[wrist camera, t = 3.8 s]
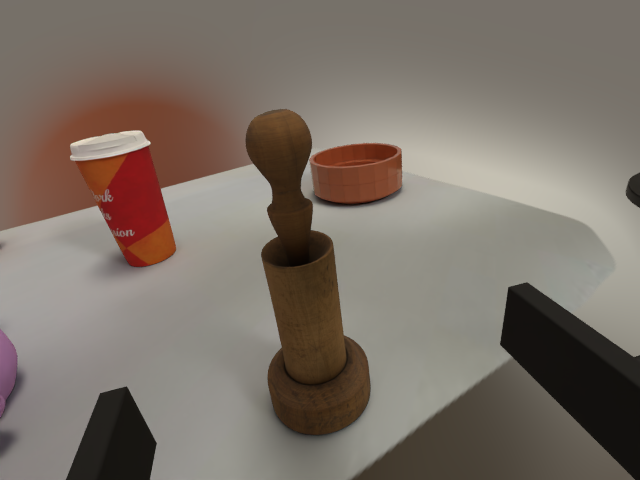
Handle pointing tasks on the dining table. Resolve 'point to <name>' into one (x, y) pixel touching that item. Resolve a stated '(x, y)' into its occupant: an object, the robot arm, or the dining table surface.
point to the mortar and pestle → (304, 291)
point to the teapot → (6, 369)
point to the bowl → (356, 172)
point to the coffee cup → (127, 194)
